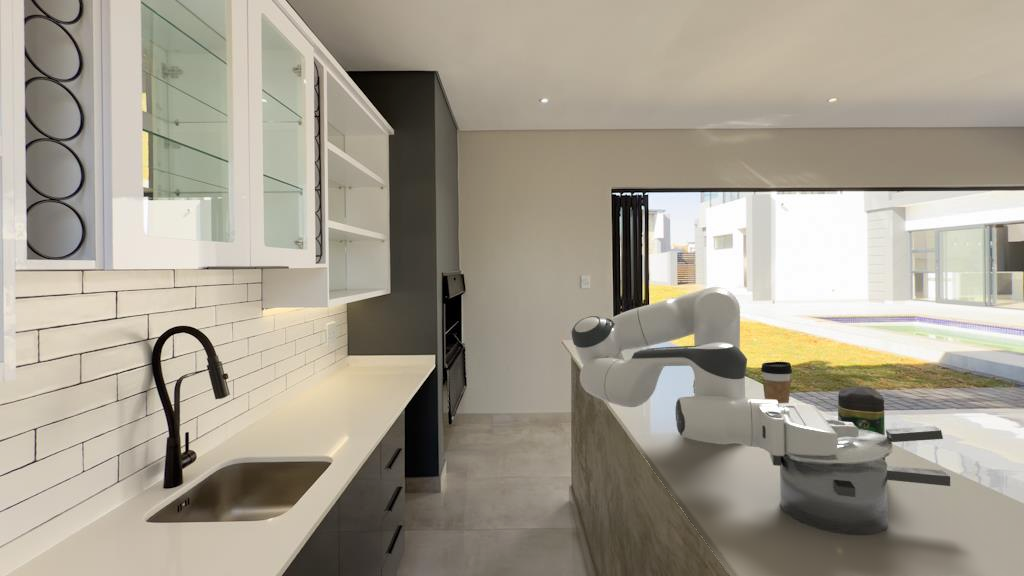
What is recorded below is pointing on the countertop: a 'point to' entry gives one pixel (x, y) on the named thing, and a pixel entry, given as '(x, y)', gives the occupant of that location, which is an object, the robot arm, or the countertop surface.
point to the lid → (869, 446)
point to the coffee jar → (862, 408)
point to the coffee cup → (777, 381)
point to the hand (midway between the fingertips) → (856, 429)
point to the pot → (844, 493)
